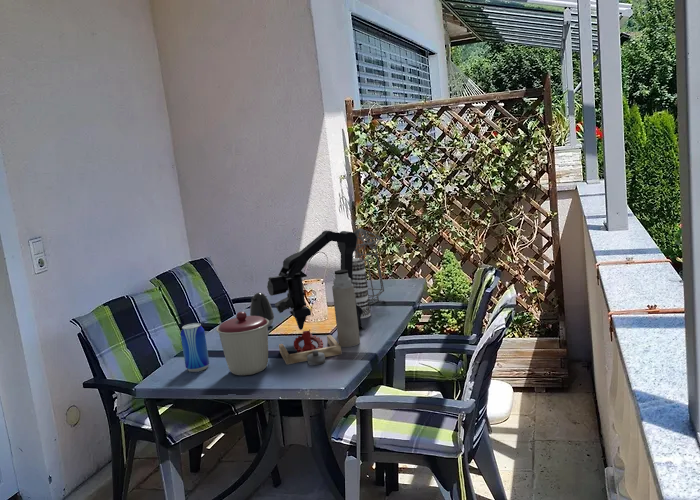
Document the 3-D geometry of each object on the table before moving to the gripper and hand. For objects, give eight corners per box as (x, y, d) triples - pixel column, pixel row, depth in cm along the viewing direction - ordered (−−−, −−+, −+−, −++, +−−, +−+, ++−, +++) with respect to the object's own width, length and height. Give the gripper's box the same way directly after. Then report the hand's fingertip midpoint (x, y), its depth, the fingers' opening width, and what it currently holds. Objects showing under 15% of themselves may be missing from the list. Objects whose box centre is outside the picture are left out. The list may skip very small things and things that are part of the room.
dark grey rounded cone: (246, 330, 278) (241, 295, 276) (260, 323, 287) (255, 289, 285) (265, 331, 274) (261, 296, 271) (279, 324, 283) (275, 289, 280)
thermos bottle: (343, 340, 250) (334, 268, 245) (362, 340, 247) (354, 267, 242) (335, 346, 242) (327, 273, 238) (356, 346, 239) (347, 272, 235)
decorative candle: (346, 319, 278) (340, 261, 274) (354, 313, 287) (348, 257, 283) (366, 319, 275) (360, 261, 271) (374, 312, 283) (368, 256, 279)
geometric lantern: (390, 298, 305) (382, 225, 298) (373, 308, 292) (365, 232, 286) (361, 297, 314) (353, 225, 307) (344, 306, 301) (335, 232, 294)
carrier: (331, 342, 248) (330, 332, 248) (346, 359, 227) (345, 348, 227) (279, 352, 243) (278, 341, 243) (289, 370, 222) (288, 359, 222)
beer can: (188, 366, 239) (181, 324, 237) (211, 363, 240) (204, 321, 237) (184, 374, 231) (177, 330, 228) (208, 370, 231) (201, 327, 229)
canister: (252, 382, 215) (243, 320, 211) (212, 377, 224) (202, 318, 221) (285, 363, 230) (277, 305, 226) (246, 359, 239) (238, 303, 236)
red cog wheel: (303, 360, 232) (300, 337, 230) (290, 352, 242) (287, 330, 241) (330, 353, 236) (327, 330, 235) (316, 345, 247) (314, 324, 246)
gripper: (271, 289, 255) (276, 327, 258) (278, 298, 238) (284, 339, 240) (298, 284, 258) (303, 322, 261) (308, 293, 240) (313, 334, 243)
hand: (300, 329), depth 251 cm, fingers closed
